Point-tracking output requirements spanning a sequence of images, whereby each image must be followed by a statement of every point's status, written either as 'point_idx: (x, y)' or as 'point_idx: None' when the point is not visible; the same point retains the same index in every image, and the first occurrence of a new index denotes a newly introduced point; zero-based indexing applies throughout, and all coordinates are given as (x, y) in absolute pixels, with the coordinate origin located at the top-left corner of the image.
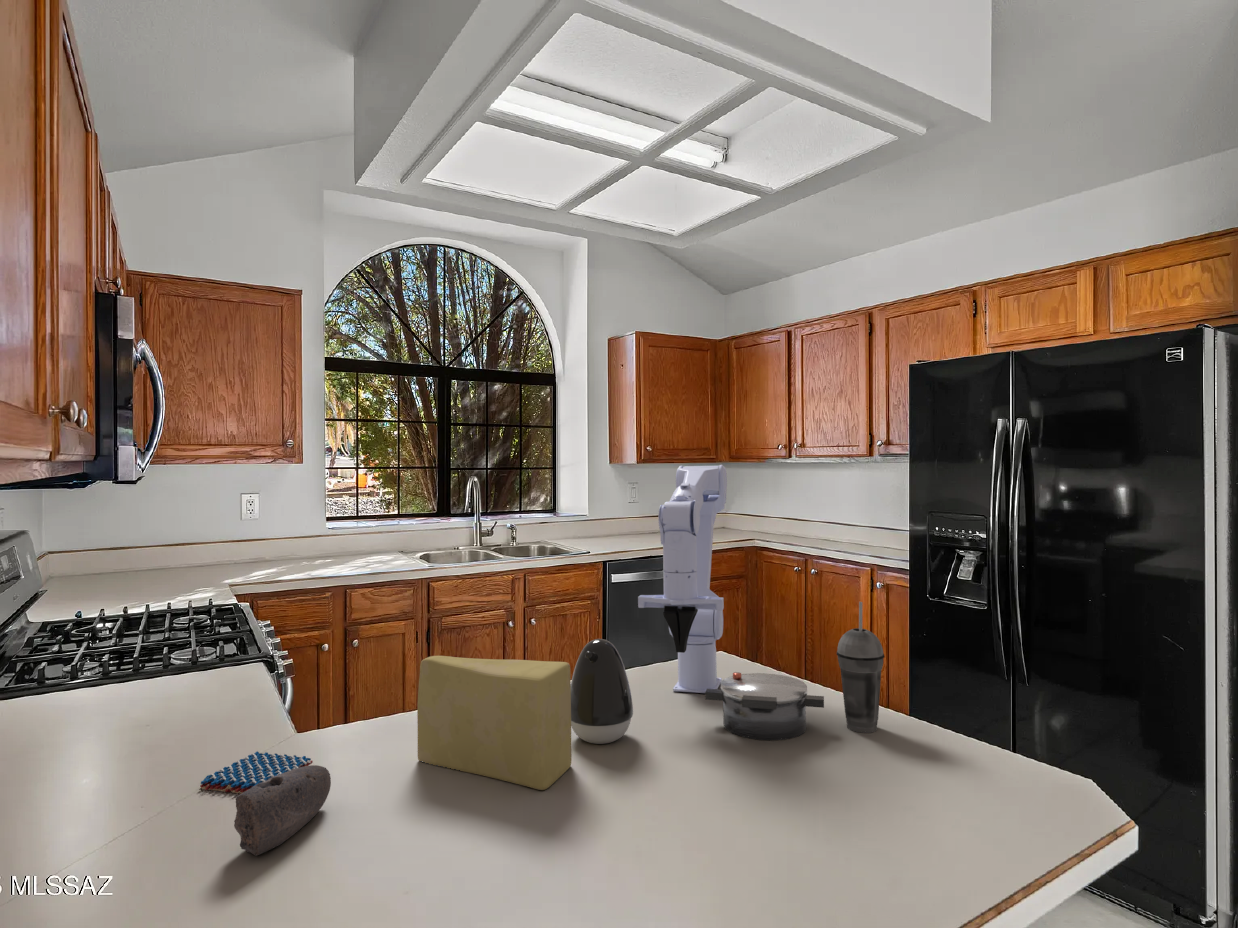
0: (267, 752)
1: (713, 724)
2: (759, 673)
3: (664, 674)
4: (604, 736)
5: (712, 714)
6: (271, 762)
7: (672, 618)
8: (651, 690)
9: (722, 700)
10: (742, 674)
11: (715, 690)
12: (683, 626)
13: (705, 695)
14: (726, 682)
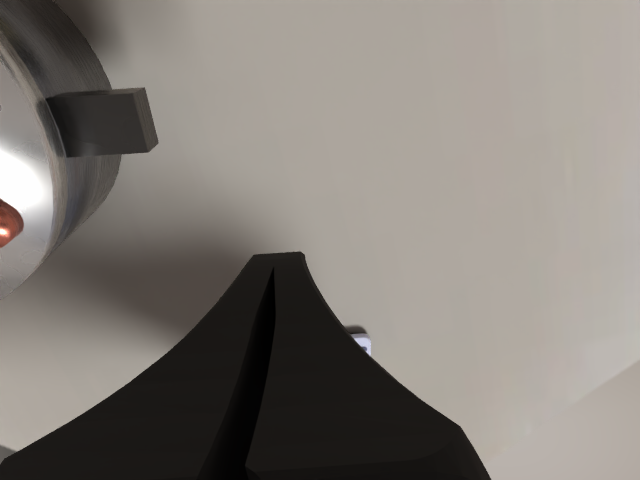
0: None
1: (142, 67)
2: None
3: None
4: None
5: (186, 173)
6: None
7: (322, 416)
8: (433, 327)
9: (66, 92)
10: (14, 281)
11: (99, 134)
12: (199, 367)
13: (138, 91)
14: (7, 131)
